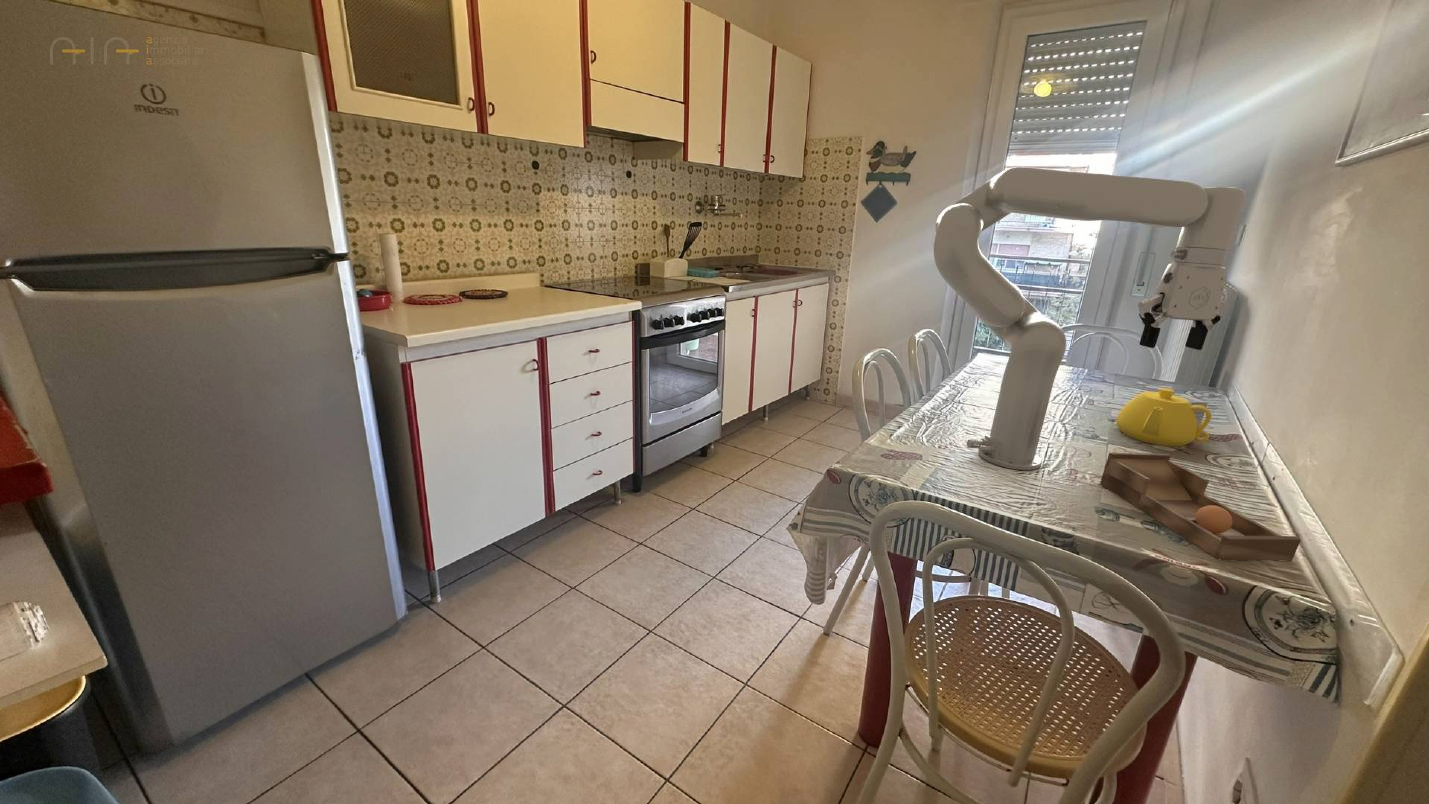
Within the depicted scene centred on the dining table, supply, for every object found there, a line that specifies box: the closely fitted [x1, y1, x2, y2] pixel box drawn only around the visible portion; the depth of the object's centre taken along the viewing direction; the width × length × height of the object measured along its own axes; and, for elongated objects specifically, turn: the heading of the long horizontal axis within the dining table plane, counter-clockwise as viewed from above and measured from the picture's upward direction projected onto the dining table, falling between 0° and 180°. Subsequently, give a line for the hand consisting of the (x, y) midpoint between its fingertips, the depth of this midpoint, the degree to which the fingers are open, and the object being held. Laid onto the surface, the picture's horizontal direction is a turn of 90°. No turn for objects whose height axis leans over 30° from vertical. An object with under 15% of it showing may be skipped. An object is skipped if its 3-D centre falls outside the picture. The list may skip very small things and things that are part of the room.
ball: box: [1195, 505, 1232, 534], centre depth 97 cm, size 5×5×5 cm
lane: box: [1099, 452, 1302, 561], centre depth 102 cm, size 27×13×7 cm, turn 4°
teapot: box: [1115, 387, 1213, 448], centre depth 140 cm, size 20×19×13 cm
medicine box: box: [1173, 392, 1208, 429], centre depth 150 cm, size 8×4×9 cm, turn 179°
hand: (1169, 347), depth 110 cm, fingers open, 9 cm apart
